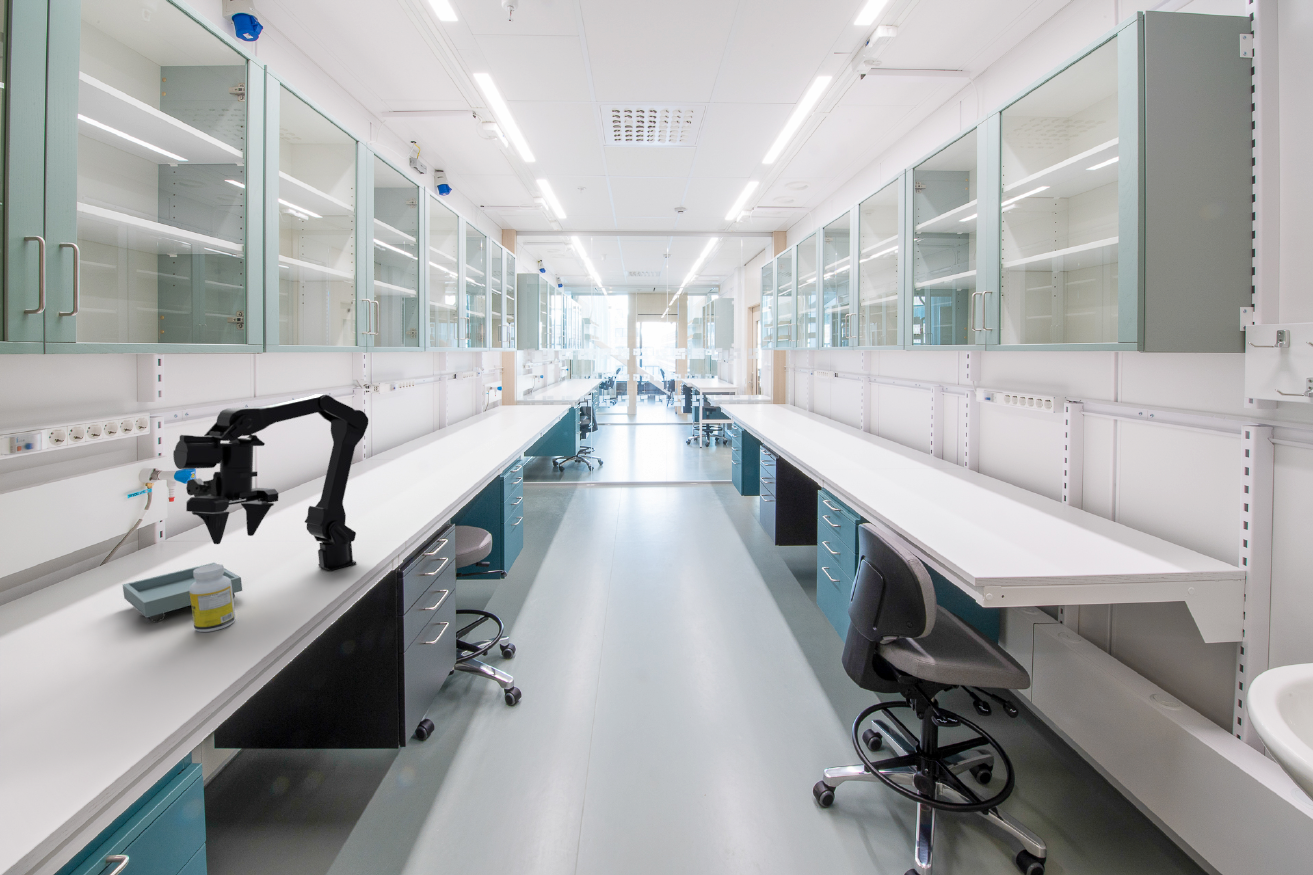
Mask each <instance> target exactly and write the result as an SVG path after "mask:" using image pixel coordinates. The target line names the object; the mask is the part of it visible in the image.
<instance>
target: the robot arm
mask: <svg viewBox="0 0 1313 875" xmlns="http://www.w3.org/2000/svg"><path fill="white" fill-rule="evenodd" d="M316 413H318V414H319V415H320V416H321V417H322V418H323V419H324V420H326V421H327V422H329V423H330V434H331V438H332V442H333V444H332V445H333V446H332V448H331V453H330V458H329V461H328V462H329V463H328V467H327V470H326V474H325V480H324V483H323V488H322V492H321V496H320V500H319V501H318V503H317V504H316V505H315V506H312V505H309V506H308V509H307V516H306V518H305V520H304V523H305V524H306V531H308V533H309V534H310V535H311V536H313V538H314V539H315V541H316V542H318V543H319V542H320V543H319V549H318V550H317V554H318V566H319V567H320V568H322V569H325V570H327V571H329V572H330V571H336V570H339V569H342V568H345V567H349V566H353V565H356V564H357V561H356V560H354V559H353V557H354V556H353V547H352V542H354V541H355V539H356V535H357V533H356V531H354V530H353V529H352V528H350V527H348V526H347V525H346V520H347V519H346V518H347V515H346V512H345V508H344V500H345V499H344V498H345V494H346V488H347V485H348V480H349V476H350V473H351V472H350V471H351V466H352V462H353V458H354V454H355V453H354V452H355V449H356V446H357V445H358V443H359V442H360V441H361V440H362V439H363V438H364V436H365V434H366V431H367V428H368V425H369V417H368V416H367V414H366V413H365V412H364V411H363V410H359V409H354V408H353V407H352V406H349V405H347V404H345V403H343V402H340V401H338V400H336V399H335V397H332V396H330V395H328V394H324V393H323V394H320V393H318V394H316V393H315V394H313V395H311V396H306V397H302V398H299V399H298V398H297V399H293V400H289V401H285V402H279V403H275V404H269V405H265V406H250V407H246V406H245V407H230V408H225V409H222V410H221V411H219V414H218V416H217V418H216V422H215V423H214V424H213V425H212V426H211V428H209V429H208V430H207V431H206V433H205V434H203V435H189V434H180V435H179V441H178V442H177V443H176V445H175V447H174V450H173V462H174V465H175V467H176V469H178V470H191V469H192V470H193V469H195V470H196V469H214V468H215V467H216V466H217V465H219V471H214V473H213V474H212V479H209V480H202V478H200V477H198V478H193V479H188V480H187V481H186V488H185V489H186V493H187V495H189V496H190V498H189V499H188V500H187V501H186V506H185V507H186V512H189V513H190V512H191V514H192V515H194V516H197V517H199V518H200V519H201V520H202V521H203V522H204V524H205V527H206V529H207V530H208V533H209V536H210V538H211V541H212V543H213V544H214V545H220V544H221V542H222V540H223V536H224V533H225V530H226V527H227V526H226V525H227V522H228V519H229V515H230V511H227V510H228V509H229V507H230V505H231V506H232V505H238V504H241V506H242V507H243V509H244V510H245V515H246V516H245V517H246V533H247V536H249V537H253V536H254V535H255V533H256V532H257V530H258V528H259V526H260V525H261V524H262V521H263V519H264V518H265V516H266V515H267V514H268V512H269V510H270V509H271V508H272V507H273V506H275V503H277V502H278V501H279V492H278V491H277V490H276V489H275V488H268V487H267V488H264V487H253V477H254V478H255V477H258V471H253V470H254V467H253V466H254V465H253V464H254V447H264V446H265V444H266V443H265V442H264V441H262V440H261V439H260V438H259V437H258V436H257V435H256V434H257V433H258V432H260V431H264V430H265V429H267V428H268V427H269V426H271V425H273V424H276V423H280V422H284V421H289V420H291V419H297V418H301V417H304V416H308V415H312V414H316ZM246 436H247V437H246ZM245 437H246V438H245ZM221 441H222V442H221ZM224 441H225V442H224ZM191 496H192V497H191ZM274 502H275V503H274Z"/></svg>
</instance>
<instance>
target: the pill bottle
mask: <svg viewBox="0 0 1313 875" xmlns="http://www.w3.org/2000/svg"><path fill="white" fill-rule="evenodd" d="M205 565H206V564H205ZM201 566H202V565H201ZM224 568H225V567H224V564H220V563H216V564H212V565H206V566H202V567H199V568H196V569H195V570H194V571H193V575H194V579H196V582H194V583H193V584H192V585H191V586H190V589H189V591H190V599H191V605H190V606H191V614H192V621H193V622H192V623H193V628H194V629H195V631H197V632H200V633H208V632H215V631H219V630H221V629H225V628H227V627H229V626H230V625H233V623H234V622H235V621H236V612H235V603H234V599H233V592H232V584H231V580H230V579H229V578H228V577H226V576H223V573H224Z"/></svg>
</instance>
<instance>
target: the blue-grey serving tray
mask: <svg viewBox="0 0 1313 875" xmlns="http://www.w3.org/2000/svg"><path fill="white" fill-rule="evenodd" d="M212 564H217V563H216V562H211V563H206V564H203V565H202V564H201V565H199V566H195V567H190V568H185V569H182V570H181V569H180V570H178V571H173V572H169V573H164V574H160V575H155V576H151V577H148V578H144V579H143V578H142V579H140V580H135V581H131V582H127V583H124V584H121V585H122V591H123V596H124V599H125V601H127V602H128V603H129V604H130V605H132V606H133V607H134V608H135V610H137V612H139V613H140V614H142V616H144V617H145V618H150V620H151V621H152V622H154V623H158V622H159V623H160V622H161V621H162V620H164V618H165V614H164V613H168V612H171V611H175V610H179V609H181V608H185V607H188V606H189V607H190V606H191V599H190V591H189V589H190V586H191V585H192V584H193V583H194V582H196V579H194V575H193V571H194V570H195V569H196V568H199V567H202V566H206V565H212ZM223 576H226V577H228V578H229V579H230V580H231V584H232V592H233V600H234V598H235V597H236V595H235V594H237V593H238V592H243V584H242V576H240V575H237V574H236V573H234V572H233V571H230V570H228V569H227V568H225V567H224V573H223Z"/></svg>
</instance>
